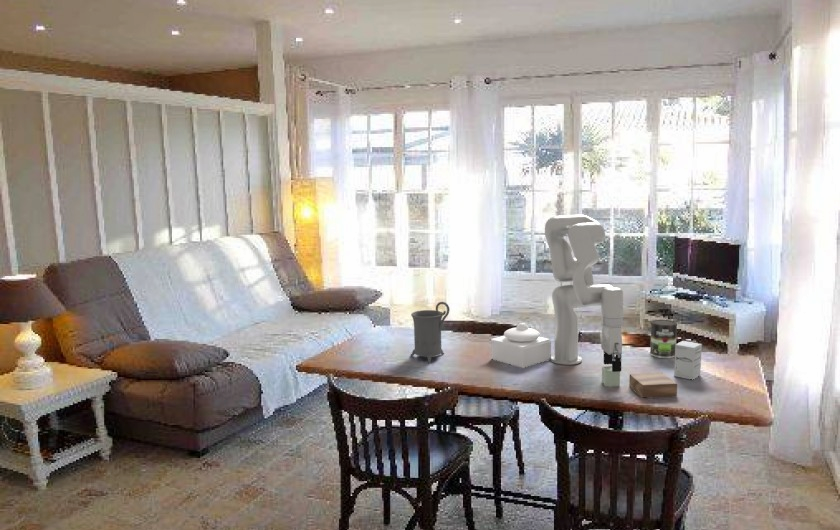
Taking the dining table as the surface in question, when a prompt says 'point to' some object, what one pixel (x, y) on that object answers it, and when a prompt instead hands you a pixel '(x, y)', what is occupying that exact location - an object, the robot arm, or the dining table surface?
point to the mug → (428, 331)
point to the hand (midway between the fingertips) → (612, 367)
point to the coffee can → (663, 338)
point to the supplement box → (687, 360)
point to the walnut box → (653, 385)
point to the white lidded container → (521, 347)
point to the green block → (610, 377)
